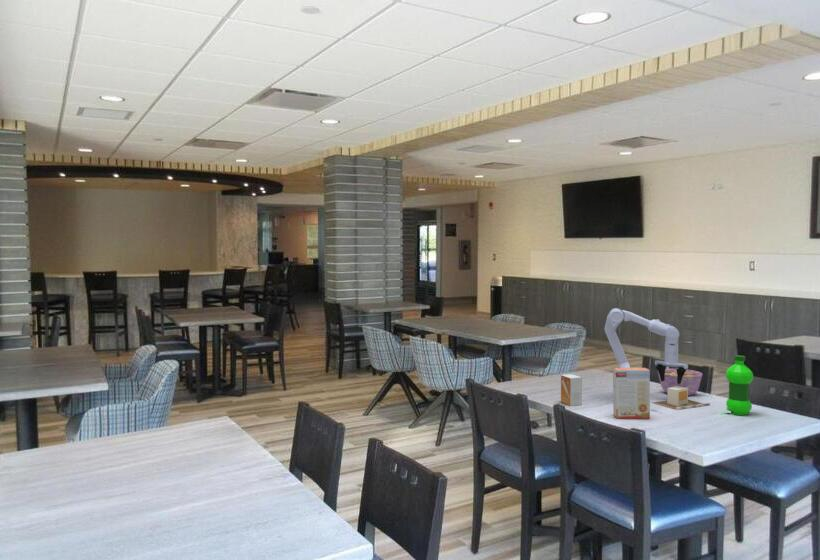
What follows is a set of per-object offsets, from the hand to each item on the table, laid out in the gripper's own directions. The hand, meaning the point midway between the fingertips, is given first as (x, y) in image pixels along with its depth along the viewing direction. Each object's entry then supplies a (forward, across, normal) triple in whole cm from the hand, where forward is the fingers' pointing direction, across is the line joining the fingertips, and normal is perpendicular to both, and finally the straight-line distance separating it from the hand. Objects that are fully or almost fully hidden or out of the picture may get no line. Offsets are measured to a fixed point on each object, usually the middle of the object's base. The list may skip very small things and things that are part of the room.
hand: (670, 382), depth 284 cm
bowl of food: (+10, -5, +20) cm, 23 cm away
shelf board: (+10, +5, -2) cm, 12 cm away
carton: (+9, +4, -1) cm, 10 cm away
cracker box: (+11, -2, -33) cm, 35 cm away
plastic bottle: (+10, +27, +5) cm, 30 cm away
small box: (+11, -33, -31) cm, 46 cm away
